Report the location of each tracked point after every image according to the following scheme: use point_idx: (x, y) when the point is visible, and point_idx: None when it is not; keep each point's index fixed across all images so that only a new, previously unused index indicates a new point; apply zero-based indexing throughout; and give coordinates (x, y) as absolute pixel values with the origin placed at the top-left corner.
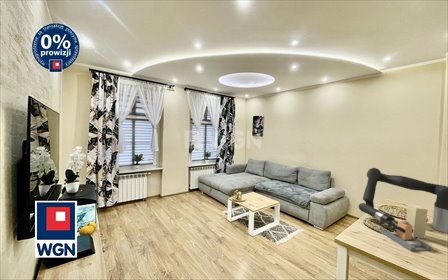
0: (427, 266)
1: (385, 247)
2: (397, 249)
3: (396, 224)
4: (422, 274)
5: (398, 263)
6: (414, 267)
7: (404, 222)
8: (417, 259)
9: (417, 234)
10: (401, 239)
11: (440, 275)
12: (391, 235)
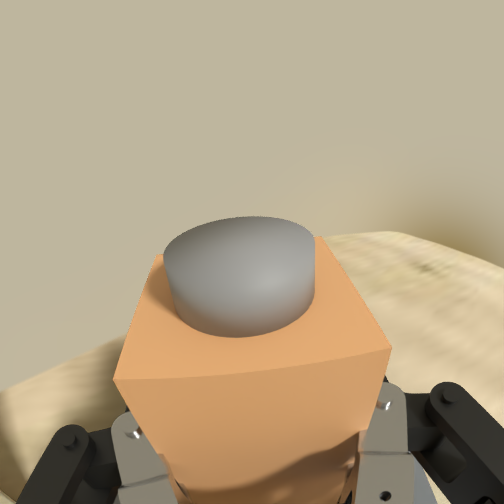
0: (346, 258)
1: (497, 341)
2: (431, 342)
3: (374, 454)
4: (399, 232)
5: (462, 255)
6: (409, 249)
7: (296, 232)
8: (360, 286)
9: (6, 495)
10: None
11: (334, 235)
12: (420, 476)
